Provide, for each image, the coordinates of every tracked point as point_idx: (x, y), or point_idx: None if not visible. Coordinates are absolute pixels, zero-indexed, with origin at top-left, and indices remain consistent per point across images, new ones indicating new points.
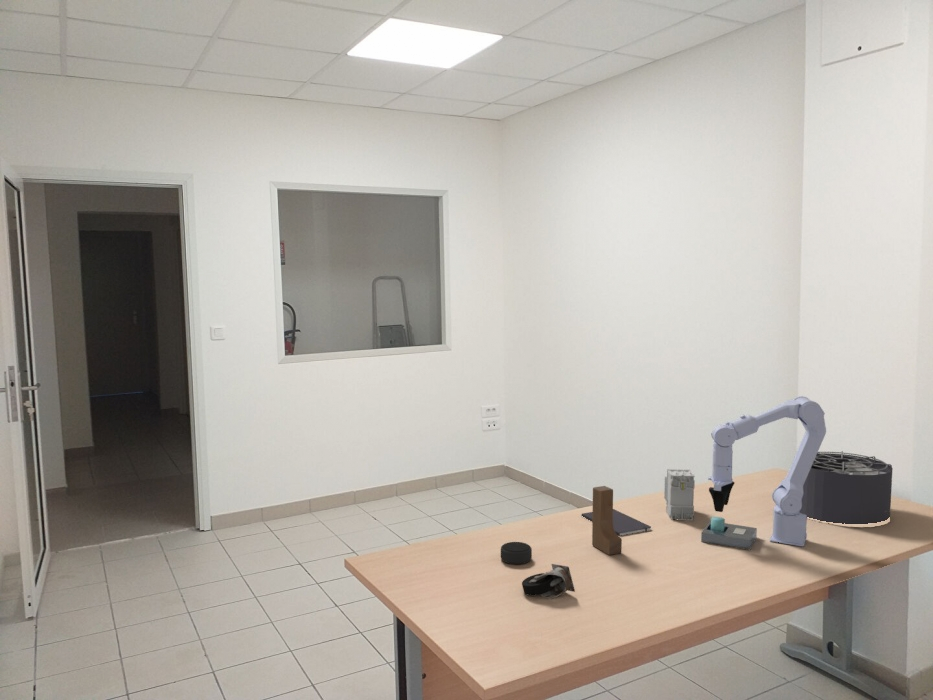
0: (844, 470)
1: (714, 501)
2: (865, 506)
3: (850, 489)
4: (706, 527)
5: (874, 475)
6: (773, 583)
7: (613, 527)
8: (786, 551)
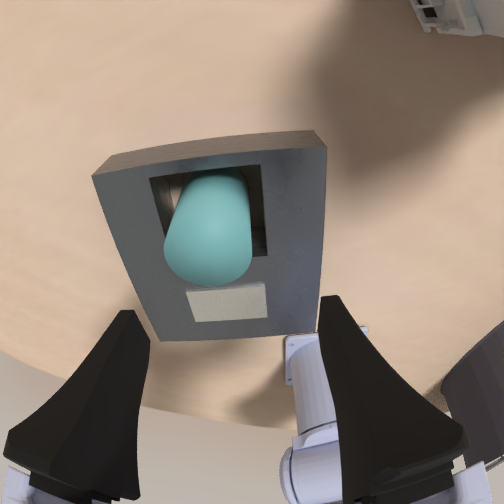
0: (486, 469)
1: (83, 373)
2: None
3: None
4: (183, 166)
5: None
6: (40, 359)
7: None
8: (229, 368)
